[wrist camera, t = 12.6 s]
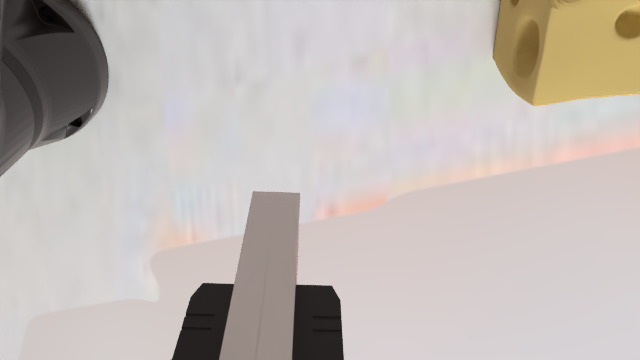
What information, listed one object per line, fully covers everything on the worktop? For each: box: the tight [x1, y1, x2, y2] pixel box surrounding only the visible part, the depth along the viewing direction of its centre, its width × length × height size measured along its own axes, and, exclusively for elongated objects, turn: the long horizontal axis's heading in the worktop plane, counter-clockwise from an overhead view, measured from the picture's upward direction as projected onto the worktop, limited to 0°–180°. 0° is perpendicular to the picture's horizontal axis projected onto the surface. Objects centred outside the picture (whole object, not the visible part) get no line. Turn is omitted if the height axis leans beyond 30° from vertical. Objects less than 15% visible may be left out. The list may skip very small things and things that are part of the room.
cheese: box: [493, 0, 640, 106], centre depth 36 cm, size 10×11×10 cm
